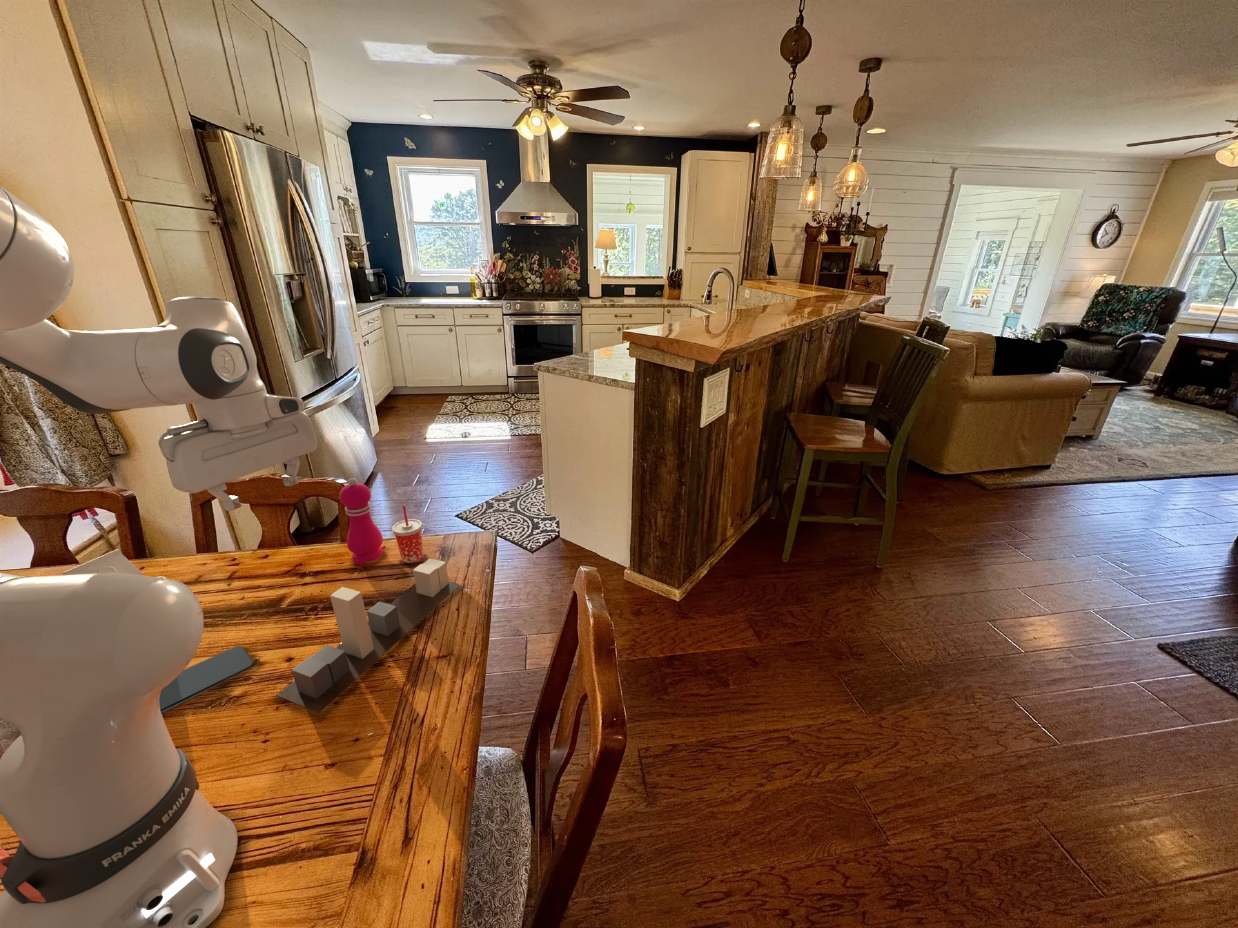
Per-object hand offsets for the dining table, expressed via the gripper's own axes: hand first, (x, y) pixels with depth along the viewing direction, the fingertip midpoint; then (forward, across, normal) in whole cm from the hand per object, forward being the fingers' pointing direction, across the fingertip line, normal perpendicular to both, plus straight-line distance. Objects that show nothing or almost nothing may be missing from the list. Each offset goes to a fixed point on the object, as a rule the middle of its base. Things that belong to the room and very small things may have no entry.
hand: (264, 496), depth 78 cm
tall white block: (+28, 0, -11) cm, 30 cm away
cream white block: (+28, +19, -11) cm, 36 cm away
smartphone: (+28, -14, +8) cm, 33 cm away
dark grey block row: (+28, -1, -11) cm, 30 cm away
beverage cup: (+28, +27, +2) cm, 39 cm away
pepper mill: (+28, +24, +11) cm, 38 cm away
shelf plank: (+29, +6, -11) cm, 32 cm away
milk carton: (+27, -13, +25) cm, 39 cm away
